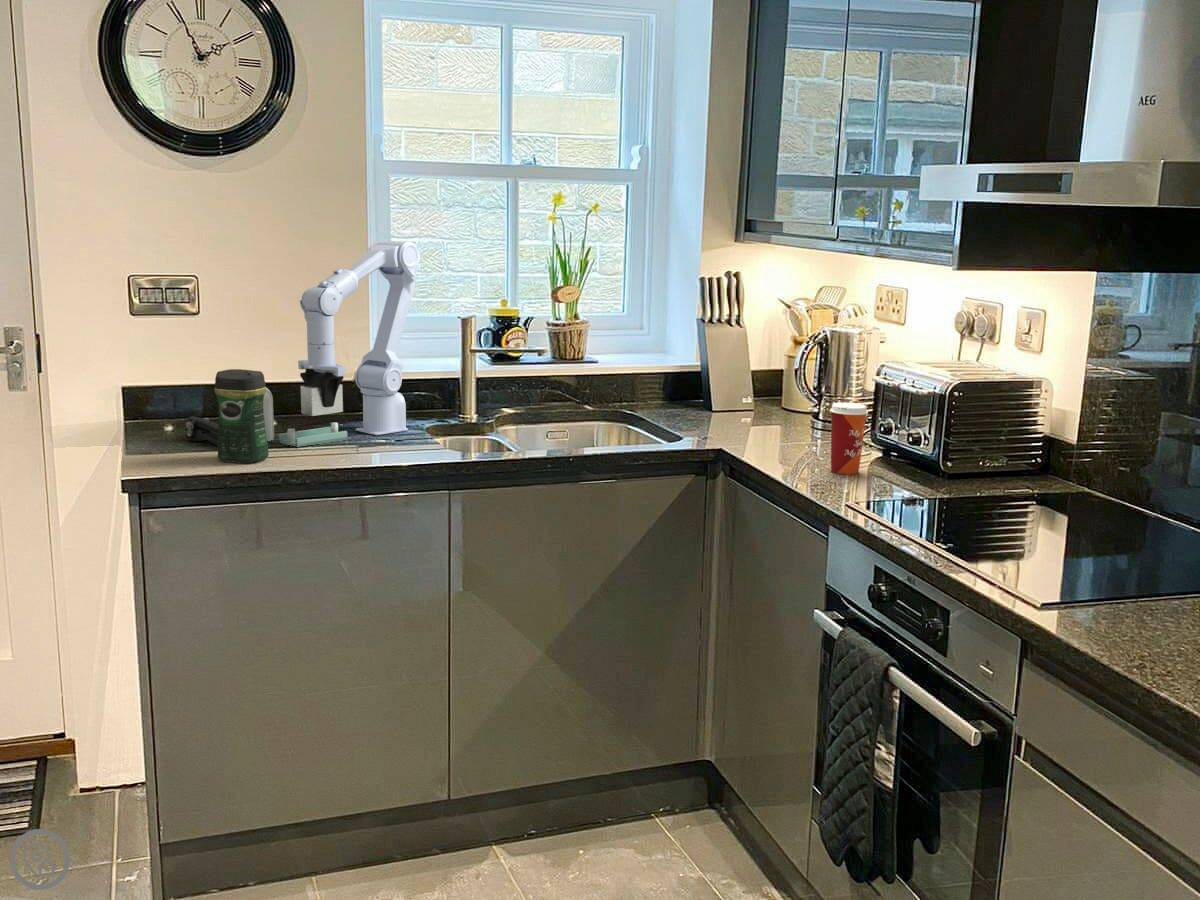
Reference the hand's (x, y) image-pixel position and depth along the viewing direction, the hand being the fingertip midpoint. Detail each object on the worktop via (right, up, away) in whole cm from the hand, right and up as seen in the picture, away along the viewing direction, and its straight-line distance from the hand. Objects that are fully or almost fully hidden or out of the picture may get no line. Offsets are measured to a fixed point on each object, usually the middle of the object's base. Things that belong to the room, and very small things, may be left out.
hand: (322, 405), depth 253 cm
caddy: (-3, -8, +3) cm, 9 cm away
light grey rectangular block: (0, -2, 0) cm, 2 cm away
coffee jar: (-12, -12, -16) cm, 24 cm away
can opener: (-23, -9, -2) cm, 25 cm away
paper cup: (+111, -14, -13) cm, 113 cm away
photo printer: (-16, -7, +5) cm, 18 cm away
